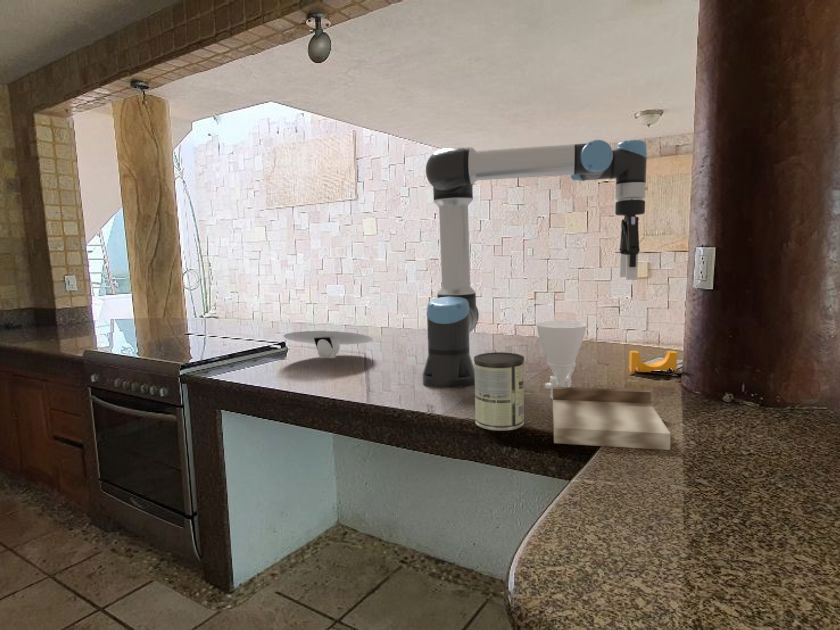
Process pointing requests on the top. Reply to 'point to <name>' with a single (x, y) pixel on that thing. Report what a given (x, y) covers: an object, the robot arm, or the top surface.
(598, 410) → the birch platform
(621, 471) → the top surface
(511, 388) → the coffee can
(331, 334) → the grey cake stand
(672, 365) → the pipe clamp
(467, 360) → the robot arm
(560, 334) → the rocket engine
